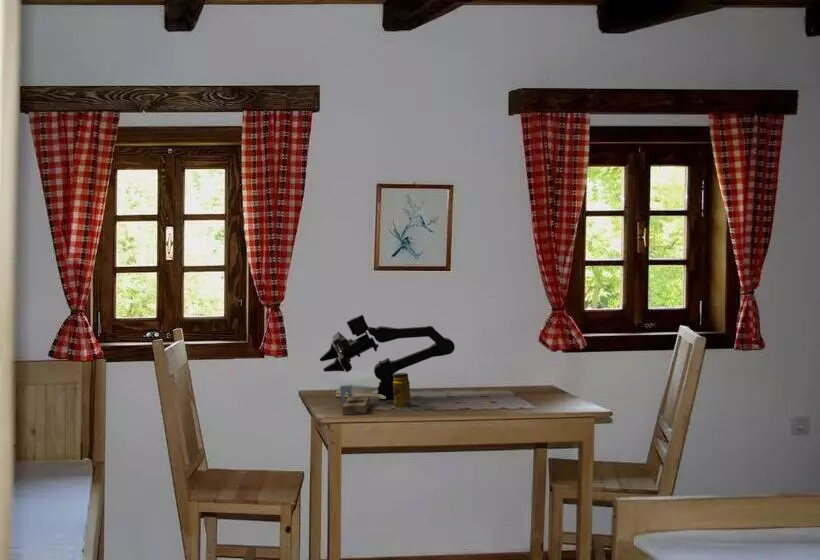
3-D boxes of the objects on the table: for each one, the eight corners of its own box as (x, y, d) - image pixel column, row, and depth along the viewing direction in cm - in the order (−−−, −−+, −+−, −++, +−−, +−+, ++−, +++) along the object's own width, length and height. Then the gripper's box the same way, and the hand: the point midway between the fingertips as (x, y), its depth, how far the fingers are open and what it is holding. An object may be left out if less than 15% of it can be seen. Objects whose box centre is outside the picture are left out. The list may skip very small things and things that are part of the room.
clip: (352, 402, 394) (352, 384, 394) (351, 403, 390) (350, 386, 390) (342, 402, 394) (341, 385, 394) (341, 404, 391) (340, 386, 390)
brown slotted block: (370, 404, 388) (369, 396, 388) (365, 413, 368) (364, 405, 368) (348, 404, 388) (348, 396, 388) (342, 414, 368) (342, 406, 368)
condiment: (388, 407, 380) (387, 374, 379) (404, 403, 386) (402, 371, 385) (404, 408, 375) (402, 375, 374) (419, 405, 381) (417, 372, 381)
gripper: (345, 319, 402) (309, 338, 401) (353, 338, 385) (315, 358, 384) (357, 342, 407) (321, 361, 406) (366, 362, 390) (329, 382, 389)
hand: (321, 365), depth 396 cm, fingers open, 9 cm apart
